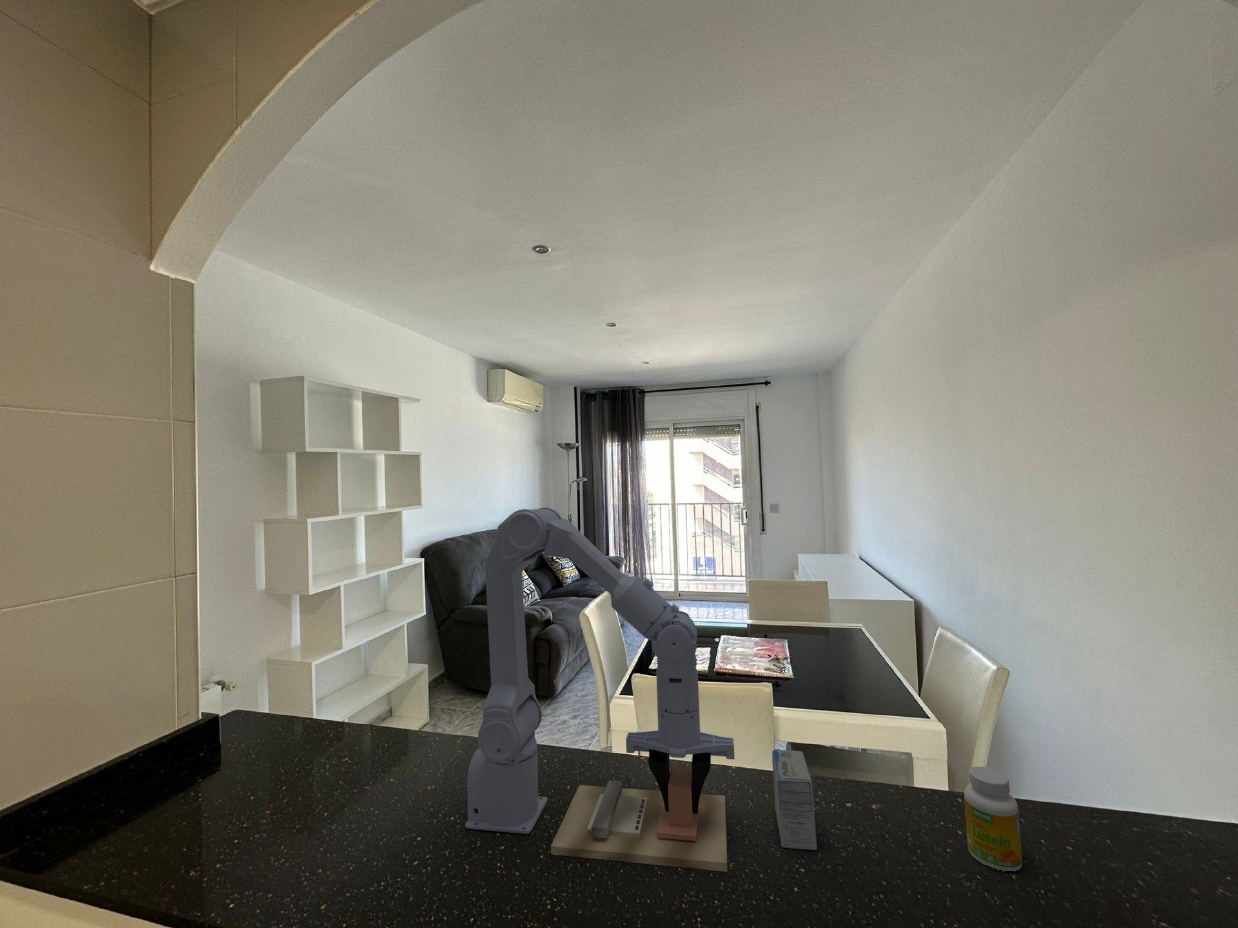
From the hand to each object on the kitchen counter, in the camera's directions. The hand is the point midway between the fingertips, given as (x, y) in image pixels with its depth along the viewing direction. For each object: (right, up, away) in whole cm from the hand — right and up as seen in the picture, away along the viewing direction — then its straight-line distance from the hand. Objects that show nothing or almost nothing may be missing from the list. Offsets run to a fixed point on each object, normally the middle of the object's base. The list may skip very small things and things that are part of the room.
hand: (681, 808), depth 69 cm
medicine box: (+15, -3, -1) cm, 15 cm away
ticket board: (-5, -3, +1) cm, 6 cm away
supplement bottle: (+37, -1, -7) cm, 38 cm away
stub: (0, -1, 0) cm, 2 cm away
